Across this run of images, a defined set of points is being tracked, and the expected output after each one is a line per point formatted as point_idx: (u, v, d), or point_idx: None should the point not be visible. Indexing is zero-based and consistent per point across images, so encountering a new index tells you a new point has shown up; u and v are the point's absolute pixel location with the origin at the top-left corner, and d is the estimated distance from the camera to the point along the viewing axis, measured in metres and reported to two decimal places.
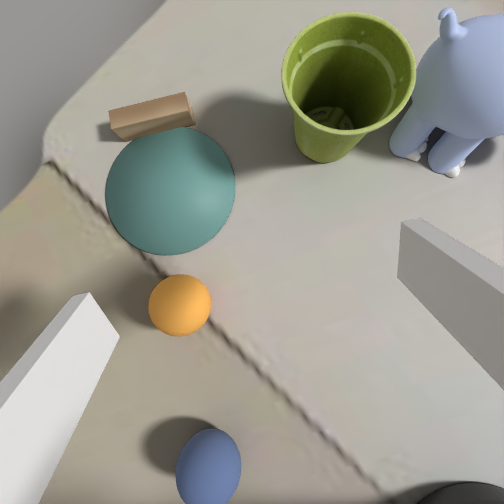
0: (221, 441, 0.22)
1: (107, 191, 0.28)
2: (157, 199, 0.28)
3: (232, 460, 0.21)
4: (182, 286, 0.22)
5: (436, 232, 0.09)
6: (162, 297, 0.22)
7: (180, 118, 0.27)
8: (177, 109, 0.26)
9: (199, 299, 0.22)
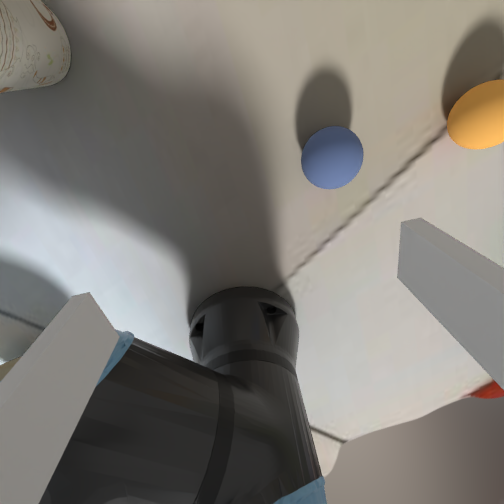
0: None
1: None
2: None
3: (346, 183, 0.25)
4: None
5: (437, 232, 0.09)
6: None
7: None
8: None
9: (497, 144, 0.23)
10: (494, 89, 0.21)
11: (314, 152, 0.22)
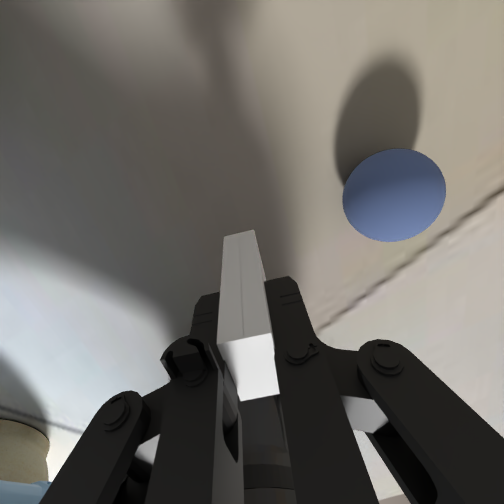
0: None
1: None
2: None
3: None
4: None
5: (251, 242, 0.11)
6: None
7: None
8: None
9: None
10: None
11: (372, 190, 0.14)
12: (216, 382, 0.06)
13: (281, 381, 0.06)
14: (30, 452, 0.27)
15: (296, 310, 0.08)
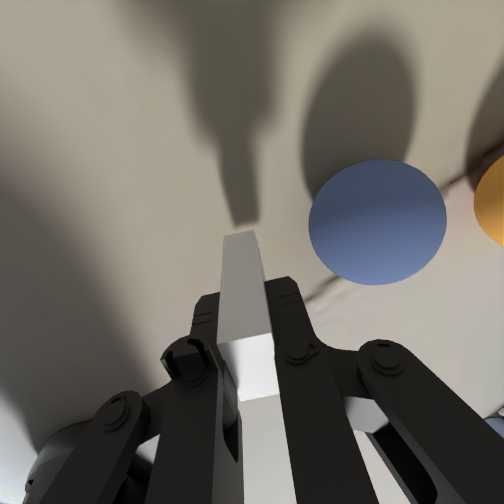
0: None
1: None
2: None
3: None
4: None
5: (251, 242, 0.11)
6: None
7: None
8: None
9: None
10: None
11: None
12: (215, 382, 0.06)
13: (281, 381, 0.06)
14: None
15: (296, 310, 0.08)
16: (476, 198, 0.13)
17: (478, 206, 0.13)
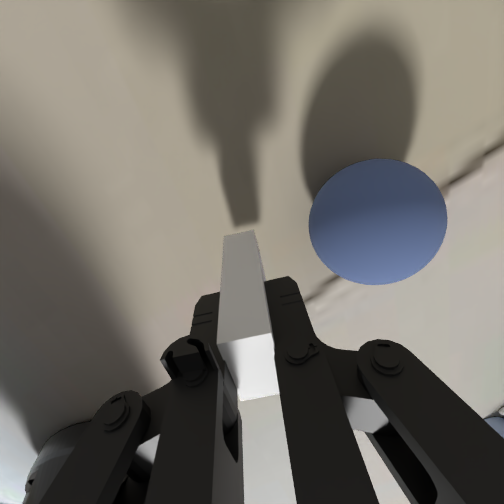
0: None
1: None
2: None
3: None
4: None
5: (251, 242, 0.11)
6: None
7: None
8: None
9: None
10: None
11: None
12: (215, 382, 0.06)
13: (281, 381, 0.06)
14: None
15: (296, 310, 0.08)
16: None
17: None
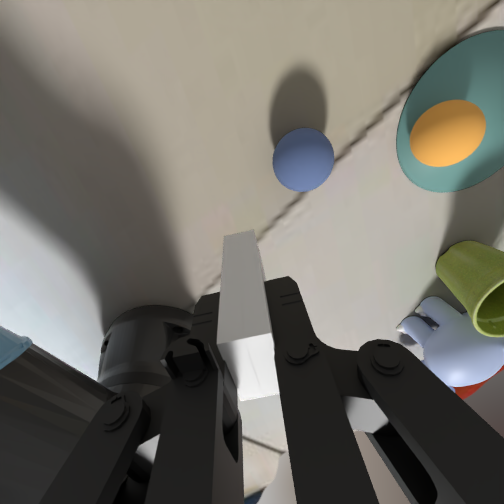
0: None
1: (500, 32, 0.22)
2: None
3: None
4: None
5: (251, 241, 0.11)
6: None
7: None
8: None
9: None
10: None
11: None
12: (215, 382, 0.06)
13: (281, 381, 0.06)
14: None
15: (296, 310, 0.08)
16: (456, 139, 0.21)
17: (460, 142, 0.21)
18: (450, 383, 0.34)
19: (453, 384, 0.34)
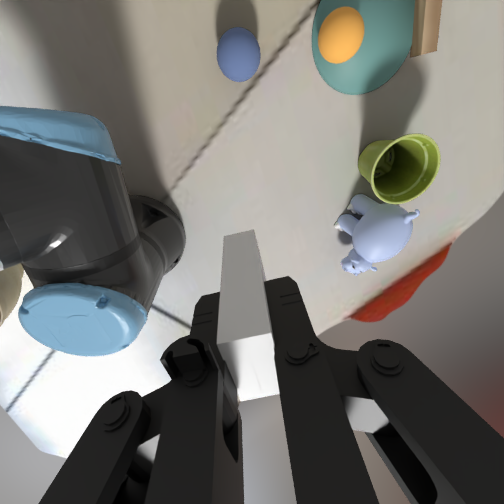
0: None
1: None
2: None
3: None
4: None
5: (251, 242, 0.11)
6: None
7: (417, 45, 0.35)
8: (424, 44, 0.34)
9: None
10: None
11: None
12: (215, 381, 0.06)
13: (281, 381, 0.06)
14: None
15: (296, 310, 0.08)
16: (340, 32, 0.31)
17: (344, 34, 0.31)
18: (369, 257, 0.44)
19: (371, 257, 0.43)
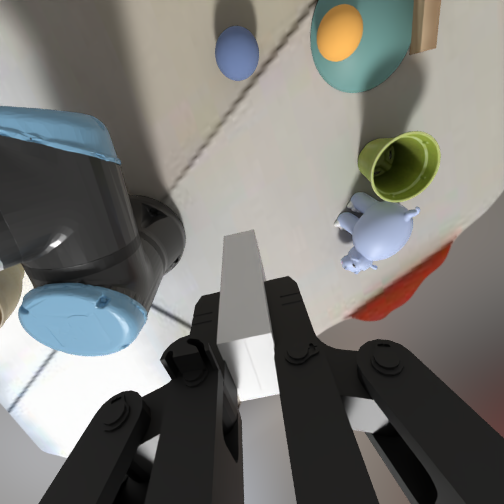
0: None
1: None
2: None
3: None
4: None
5: (251, 242, 0.11)
6: None
7: (417, 42, 0.35)
8: (423, 41, 0.34)
9: None
10: None
11: None
12: (215, 382, 0.06)
13: (281, 381, 0.06)
14: None
15: (296, 310, 0.08)
16: (339, 30, 0.30)
17: (342, 32, 0.30)
18: (369, 255, 0.43)
19: (372, 255, 0.43)
